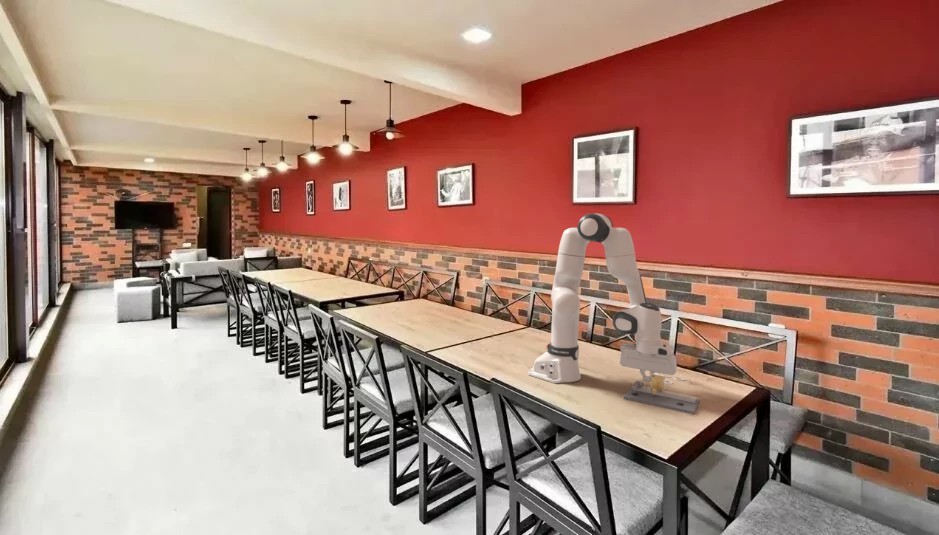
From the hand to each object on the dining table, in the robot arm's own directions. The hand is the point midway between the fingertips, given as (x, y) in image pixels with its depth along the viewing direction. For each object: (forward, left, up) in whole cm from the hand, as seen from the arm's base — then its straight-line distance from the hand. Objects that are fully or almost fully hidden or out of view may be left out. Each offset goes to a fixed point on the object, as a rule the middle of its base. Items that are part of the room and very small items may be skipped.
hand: (647, 381), depth 173 cm
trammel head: (+4, -2, -3) cm, 6 cm away
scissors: (0, +24, -6) cm, 25 cm away
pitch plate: (+6, -3, -5) cm, 9 cm away
